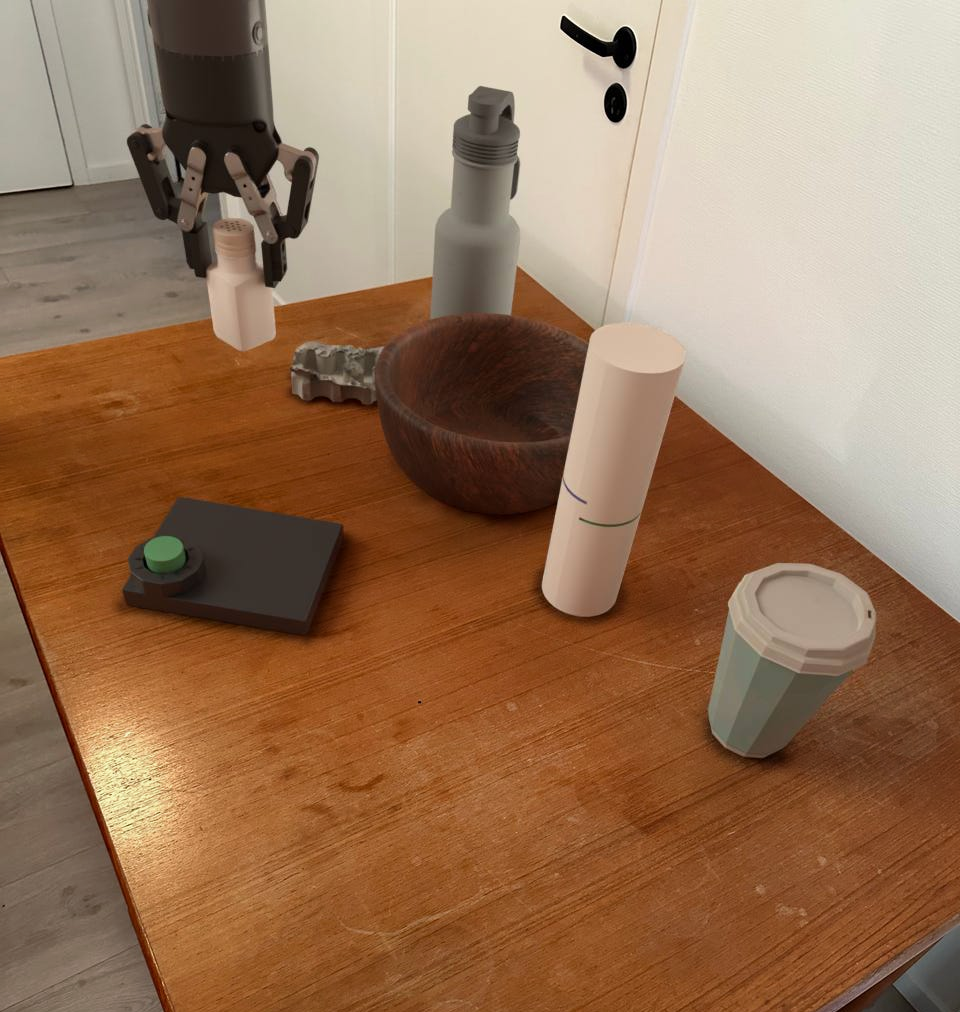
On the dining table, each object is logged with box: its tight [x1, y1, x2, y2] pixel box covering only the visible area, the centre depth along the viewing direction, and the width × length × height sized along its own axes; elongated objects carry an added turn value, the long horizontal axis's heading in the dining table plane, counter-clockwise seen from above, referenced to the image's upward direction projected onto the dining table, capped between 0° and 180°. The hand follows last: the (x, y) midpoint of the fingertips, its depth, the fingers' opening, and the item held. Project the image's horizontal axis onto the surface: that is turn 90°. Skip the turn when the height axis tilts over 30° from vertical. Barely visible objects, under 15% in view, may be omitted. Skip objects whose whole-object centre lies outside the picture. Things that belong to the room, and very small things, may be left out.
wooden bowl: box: [374, 313, 589, 515], centre depth 93 cm, size 25×25×10 cm
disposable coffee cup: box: [707, 562, 877, 759], centre depth 70 cm, size 11×11×15 cm
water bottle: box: [429, 85, 521, 320], centre depth 102 cm, size 10×10×28 cm
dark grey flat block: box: [121, 496, 344, 637], centre depth 81 cm, size 16×13×4 cm
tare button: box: [144, 536, 186, 574], centre depth 77 cm, size 3×3×2 cm
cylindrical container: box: [541, 321, 687, 618], centre depth 75 cm, size 7×7×25 cm
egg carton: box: [289, 340, 385, 406], centre depth 102 cm, size 11×8×4 cm
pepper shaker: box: [205, 217, 277, 352], centre depth 73 cm, size 4×4×10 cm
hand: (238, 277), depth 72 cm, fingers closed on pepper shaker, 5 cm apart
